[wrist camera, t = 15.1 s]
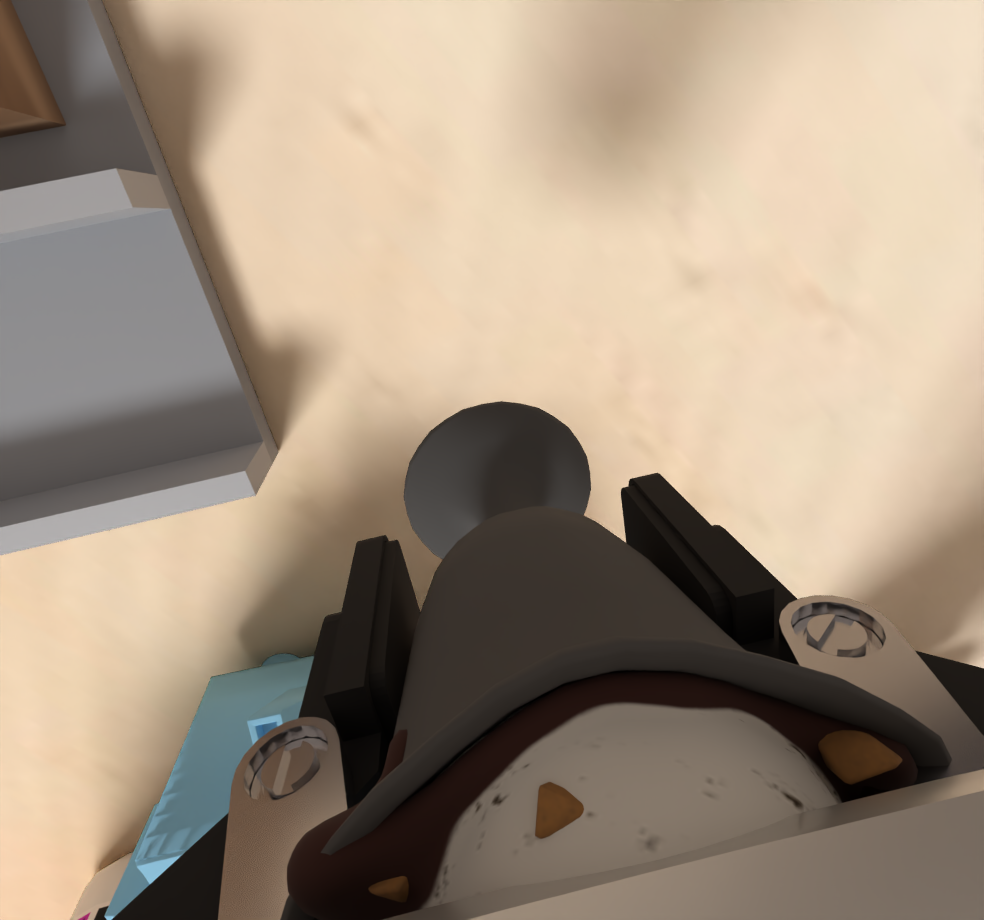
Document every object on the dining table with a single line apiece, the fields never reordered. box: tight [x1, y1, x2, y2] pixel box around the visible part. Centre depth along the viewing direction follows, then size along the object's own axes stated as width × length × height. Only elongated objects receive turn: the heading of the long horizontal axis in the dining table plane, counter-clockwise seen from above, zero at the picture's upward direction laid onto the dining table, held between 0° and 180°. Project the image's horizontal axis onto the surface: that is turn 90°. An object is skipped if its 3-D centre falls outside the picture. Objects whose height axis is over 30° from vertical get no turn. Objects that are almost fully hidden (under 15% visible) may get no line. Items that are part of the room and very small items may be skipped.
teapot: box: [105, 654, 314, 920], centre depth 24 cm, size 16×18×11 cm
